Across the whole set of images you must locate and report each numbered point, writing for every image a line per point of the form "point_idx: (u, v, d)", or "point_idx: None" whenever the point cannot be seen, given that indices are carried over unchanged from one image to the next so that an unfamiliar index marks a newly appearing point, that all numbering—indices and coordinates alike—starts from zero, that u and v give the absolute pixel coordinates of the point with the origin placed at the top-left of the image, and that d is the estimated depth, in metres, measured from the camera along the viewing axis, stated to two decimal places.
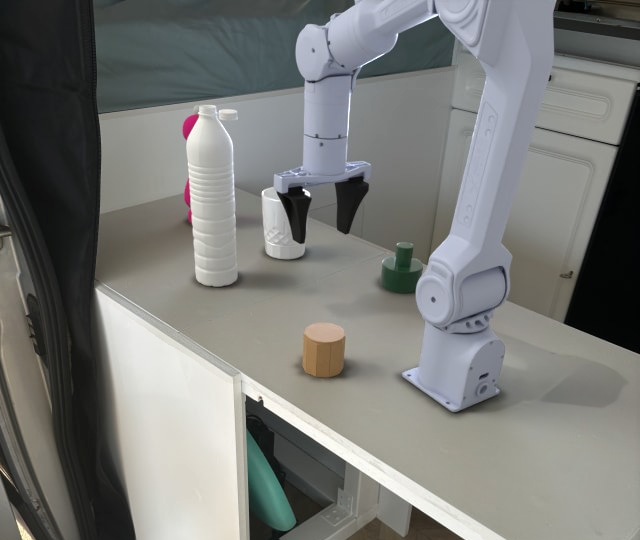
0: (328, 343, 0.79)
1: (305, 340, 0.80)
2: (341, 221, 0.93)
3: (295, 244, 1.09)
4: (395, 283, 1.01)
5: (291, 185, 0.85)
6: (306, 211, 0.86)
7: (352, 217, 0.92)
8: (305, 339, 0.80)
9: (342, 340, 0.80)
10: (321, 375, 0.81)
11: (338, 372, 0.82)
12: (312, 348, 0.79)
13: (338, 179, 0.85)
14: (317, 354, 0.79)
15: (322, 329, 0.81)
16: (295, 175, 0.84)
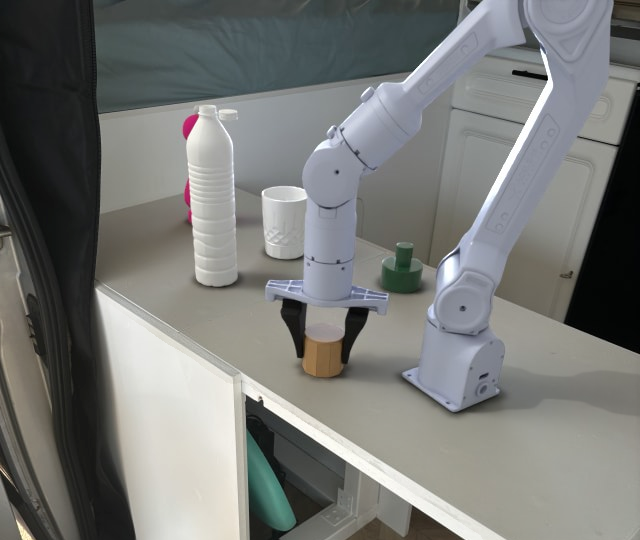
0: (328, 343, 0.79)
1: (305, 340, 0.80)
2: None
3: (295, 244, 1.09)
4: (395, 283, 1.01)
5: (282, 296, 0.78)
6: (298, 327, 0.78)
7: (348, 348, 0.79)
8: (305, 339, 0.80)
9: (342, 340, 0.80)
10: (321, 375, 0.81)
11: (338, 372, 0.82)
12: (312, 348, 0.79)
13: (324, 305, 0.75)
14: (317, 354, 0.79)
15: (322, 329, 0.81)
16: (287, 287, 0.77)
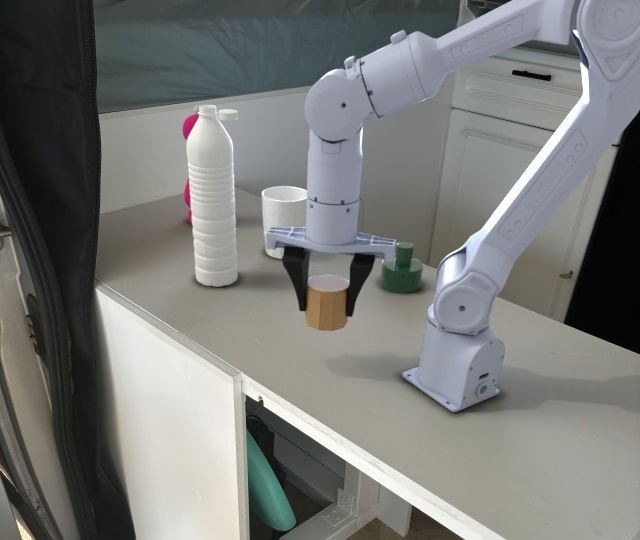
0: (332, 293, 0.75)
1: (308, 291, 0.76)
2: None
3: None
4: (395, 283, 1.01)
5: (284, 243, 0.74)
6: (301, 276, 0.75)
7: (352, 299, 0.76)
8: (308, 290, 0.76)
9: (347, 291, 0.76)
10: (325, 328, 0.77)
11: (342, 325, 0.78)
12: (315, 299, 0.76)
13: (328, 251, 0.71)
14: (320, 305, 0.76)
15: (325, 280, 0.77)
16: (289, 233, 0.74)
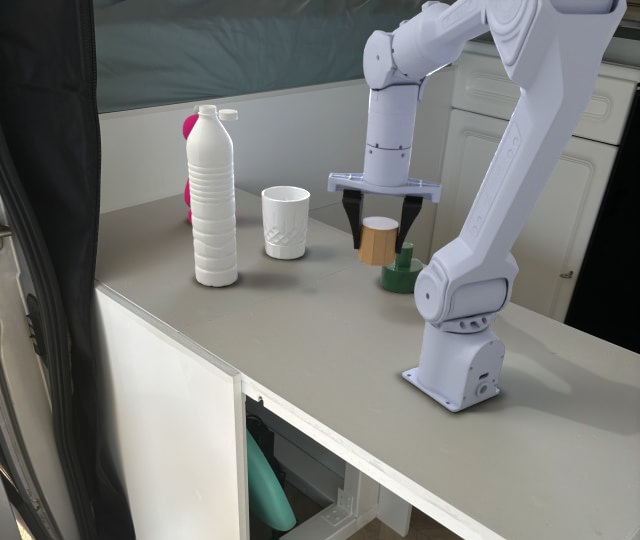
0: (385, 231, 0.86)
1: (362, 230, 0.87)
2: None
3: (295, 244, 1.09)
4: (395, 283, 1.01)
5: (343, 187, 0.85)
6: (357, 216, 0.85)
7: (402, 237, 0.86)
8: (362, 229, 0.87)
9: (397, 229, 0.87)
10: (376, 263, 0.88)
11: (392, 262, 0.89)
12: (369, 236, 0.86)
13: (384, 191, 0.82)
14: (374, 242, 0.87)
15: (377, 220, 0.88)
16: (348, 178, 0.84)
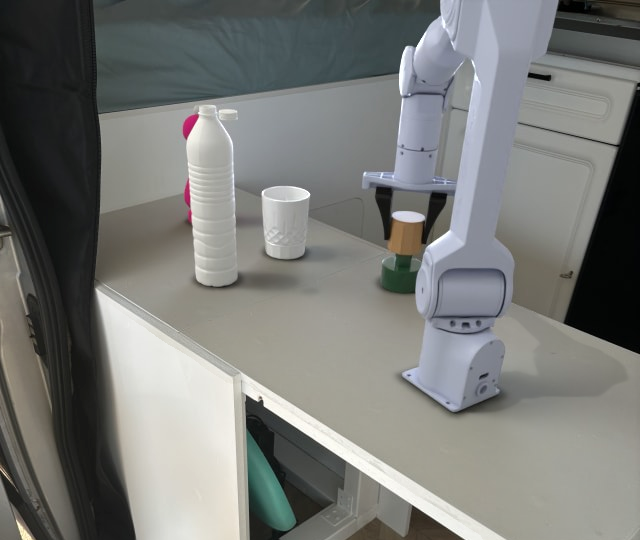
0: (413, 223, 0.96)
1: (392, 223, 0.97)
2: None
3: (295, 244, 1.09)
4: (395, 283, 1.01)
5: (375, 184, 0.96)
6: (388, 210, 0.96)
7: (428, 229, 0.97)
8: (392, 222, 0.97)
9: (423, 222, 0.97)
10: (405, 253, 0.99)
11: (418, 251, 0.99)
12: (399, 228, 0.97)
13: (413, 188, 0.92)
14: (403, 233, 0.97)
15: (405, 214, 0.98)
16: (380, 176, 0.95)
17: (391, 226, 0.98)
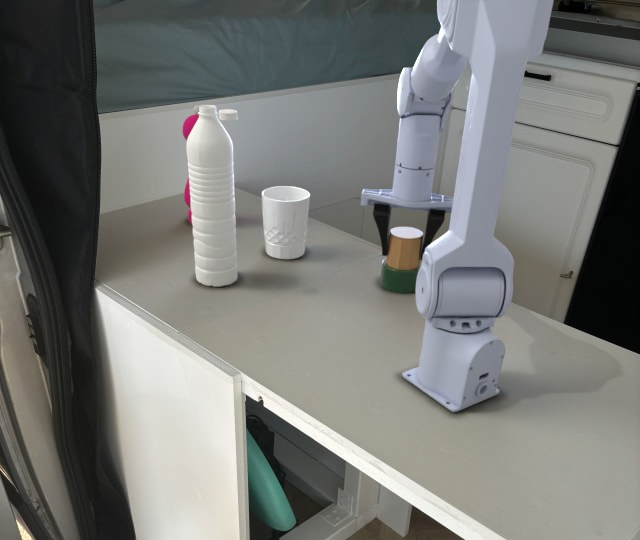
0: (411, 239, 0.97)
1: (391, 238, 0.99)
2: (422, 247, 1.00)
3: (295, 244, 1.09)
4: (395, 283, 1.01)
5: (374, 201, 0.97)
6: (386, 227, 0.97)
7: (426, 245, 0.98)
8: (391, 237, 0.99)
9: (421, 238, 0.99)
10: (403, 268, 1.00)
11: (416, 266, 1.01)
12: (397, 244, 0.98)
13: (410, 206, 0.94)
14: (401, 249, 0.98)
15: (403, 230, 1.00)
16: (378, 193, 0.96)
17: (389, 242, 1.00)
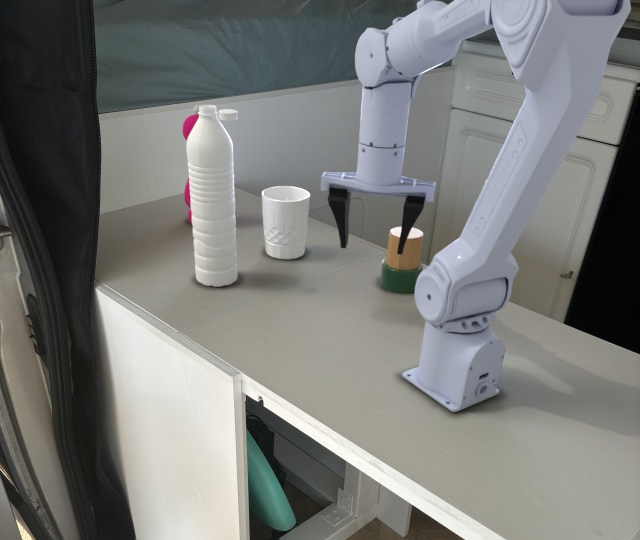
0: (411, 239, 0.97)
1: (391, 238, 0.99)
2: None
3: (295, 244, 1.09)
4: (395, 283, 1.01)
5: (336, 186, 0.84)
6: (343, 215, 0.85)
7: (404, 237, 0.85)
8: (391, 237, 0.99)
9: (421, 238, 0.99)
10: (403, 268, 1.00)
11: (416, 266, 1.01)
12: (397, 244, 0.98)
13: (377, 190, 0.81)
14: None
15: None
16: (341, 177, 0.84)
17: (389, 242, 1.00)
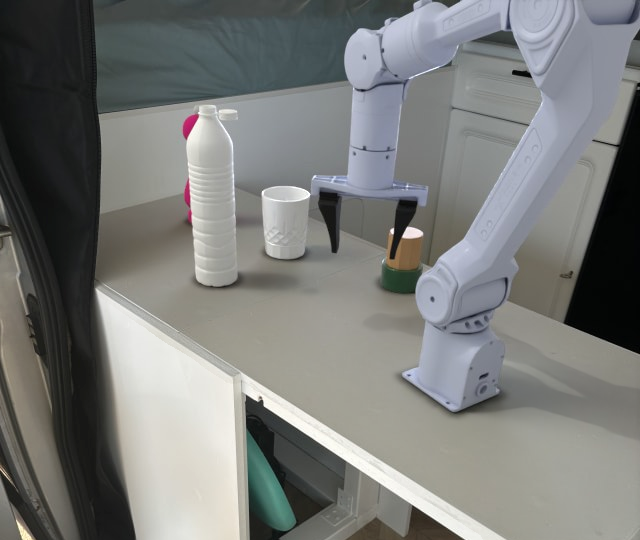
0: (411, 239, 0.97)
1: (391, 238, 0.99)
2: None
3: (295, 244, 1.09)
4: (395, 283, 1.01)
5: (326, 190, 0.82)
6: (334, 219, 0.83)
7: (396, 242, 0.84)
8: (391, 237, 0.99)
9: (421, 238, 0.99)
10: (403, 268, 1.00)
11: (416, 266, 1.01)
12: None
13: (368, 194, 0.79)
14: (401, 249, 0.98)
15: None
16: (331, 180, 0.82)
17: (389, 242, 1.00)
